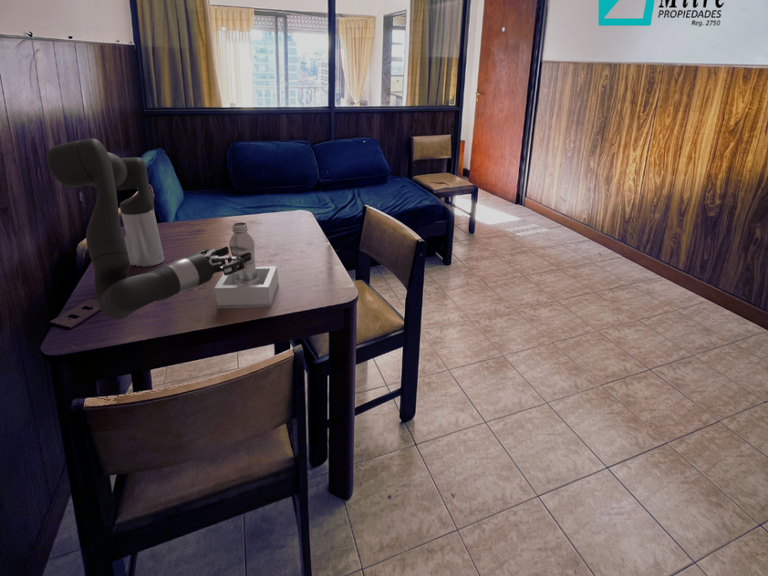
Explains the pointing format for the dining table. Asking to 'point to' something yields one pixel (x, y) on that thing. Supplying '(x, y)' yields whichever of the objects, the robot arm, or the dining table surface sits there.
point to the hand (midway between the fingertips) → (238, 252)
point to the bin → (248, 290)
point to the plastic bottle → (239, 246)
